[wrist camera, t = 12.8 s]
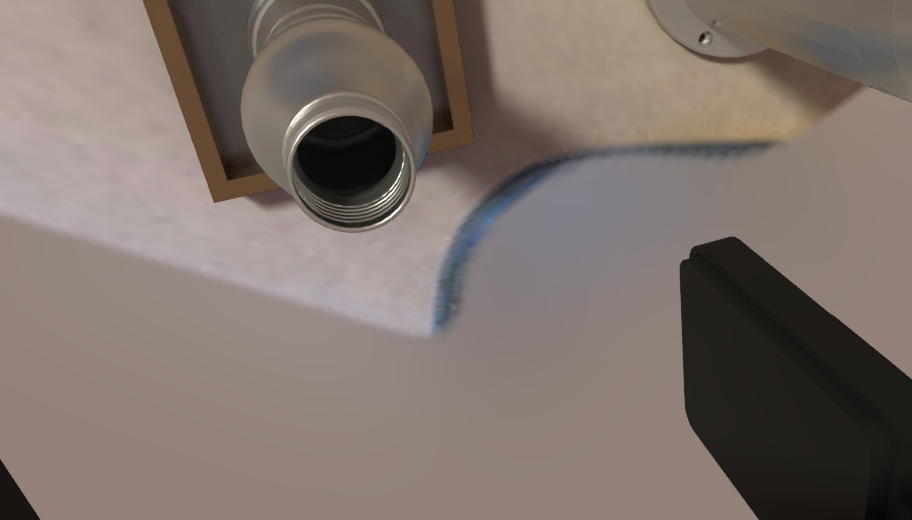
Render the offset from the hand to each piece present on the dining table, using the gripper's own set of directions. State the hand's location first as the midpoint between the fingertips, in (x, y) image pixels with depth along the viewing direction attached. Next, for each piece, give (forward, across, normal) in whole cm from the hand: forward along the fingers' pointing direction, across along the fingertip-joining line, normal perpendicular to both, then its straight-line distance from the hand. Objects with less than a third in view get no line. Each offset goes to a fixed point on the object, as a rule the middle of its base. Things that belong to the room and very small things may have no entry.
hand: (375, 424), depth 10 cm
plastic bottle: (+32, 0, +1) cm, 32 cm away
